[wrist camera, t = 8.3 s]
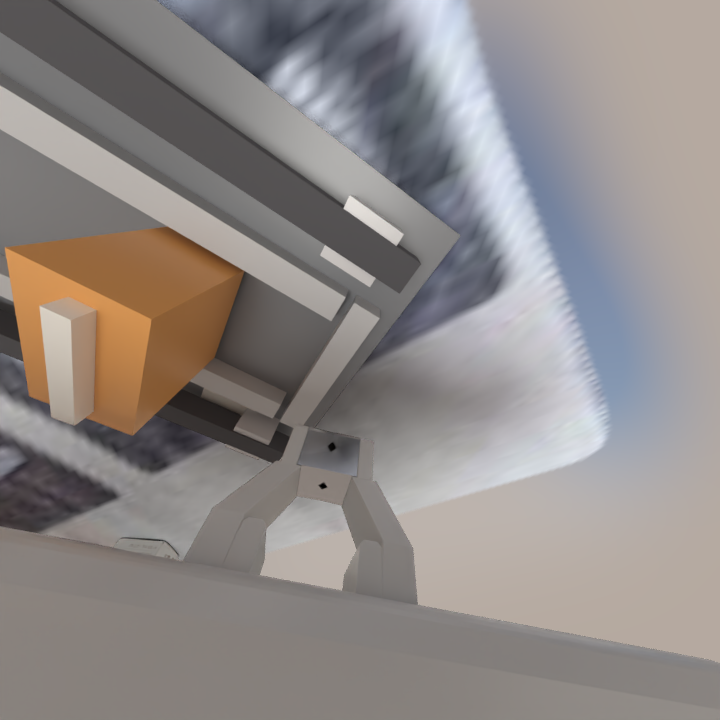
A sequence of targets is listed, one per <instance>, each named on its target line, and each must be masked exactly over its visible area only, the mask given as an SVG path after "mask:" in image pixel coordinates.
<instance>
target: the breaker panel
mask: <svg viewBox="0 0 720 720" xmlns="http://www.w3.org/2000/svg"><path fill="white" fill-rule="evenodd" d="M56 1H57V2H59V3H60V4H61V5H63V6H64V7H66V8H67V9H68V10H70V11H71V12H73V13H74V14H76V15H77V16H78V17H80V18H81V19H83V20H84V21H85V22H87V23H88V24H90V25H91V26H92V27H94V28H95V29H97V30H98V31H99V32H101V33H102V34H104V35H105V36H106V37H108V38H109V39H111V40H112V41H114V42H115V43H116V44H118V45H119V46H121V47H122V48H123V49H125V50H126V51H128V52H129V53H130V54H132V55H133V56H135V57H136V58H137V59H139V60H140V61H142V62H143V63H144V64H146V65H147V66H149V67H150V68H152V69H153V70H154V71H156V72H157V73H159V74H160V75H161V76H163V77H164V78H166V79H167V80H168V81H170V82H171V83H173V84H174V85H175V86H177V87H178V88H180V89H181V90H182V91H184V92H185V93H187V94H188V95H190V96H191V97H192V98H194V99H195V100H197V101H198V102H199V103H201V104H202V105H204V106H205V107H206V108H208V109H209V110H211V111H212V112H213V113H215V114H216V115H218V116H219V117H220V118H222V119H223V120H225V121H226V122H228V123H229V124H230V125H232V126H233V127H235V128H236V129H237V130H239V131H240V132H242V133H243V134H244V135H246V136H247V137H249V138H250V139H251V140H253V141H254V142H256V143H257V144H259V145H260V146H261V147H263V148H264V149H266V150H267V151H268V152H270V153H271V154H273V155H274V156H275V157H277V158H278V159H280V160H281V161H282V162H284V163H285V164H287V165H288V166H289V167H291V168H292V169H294V170H295V171H297V172H298V173H299V174H301V175H302V176H304V177H305V178H306V179H308V180H309V181H311V182H312V183H313V184H315V185H316V186H318V187H319V188H320V189H322V190H323V191H325V192H326V193H327V194H329V195H330V196H332V197H333V198H335V199H336V200H337V201H339V202H340V203H342V204H343V205H344V208H343V209H345V210H346V211H348V212H349V213H350V214H352V215H353V216H355V217H356V218H358V219H359V220H360V221H362V222H363V223H365V224H366V225H367V226H369V227H370V228H372V229H373V230H375V231H376V232H377V233H379V234H380V235H382V236H383V237H384V238H386V239H387V240H389V241H390V242H392V243H393V244H394V245H396V246H397V244H399V245H401V246H402V247H403V248H405V249H406V250H408V251H409V252H411V253H412V254H413V255H415V256H416V257H417V258H418V260H419V261H420V263H421V265H420V266H419V268H418V269H417V271H416V272H415V273H414V275H413V276H412V277H411V279H410V280H409V282H408V283H407V284H406V286H405V287H404V289H403V290H402V291H401V293H400V294H399V293H398V292H396V291H394V290H393V289H391V288H390V287H388V286H387V285H385V284H384V283H382V282H381V281H379V280H378V279H376V278H375V277H373V276H372V275H370V274H369V273H367V272H365V271H364V270H362V269H361V268H359V267H358V266H356V265H355V264H353V263H352V262H350V261H349V260H347V259H346V258H344V257H343V256H341V255H340V254H338V253H336V252H335V251H333V250H332V249H330V248H329V247H327V246H326V245H324V244H323V243H321V242H320V241H318V240H317V239H315V238H314V237H312V236H311V235H309V234H307V233H306V232H304V231H303V230H301V229H300V228H298V227H297V226H295V225H294V224H292V223H291V222H289V221H288V220H286V219H285V218H283V217H282V216H280V215H278V214H277V213H275V212H274V211H272V210H271V209H269V208H268V207H266V206H265V205H263V204H262V203H260V202H259V201H257V200H256V199H254V198H253V197H251V196H249V195H248V194H246V193H245V192H243V191H242V190H240V189H239V188H237V187H236V186H234V185H233V184H231V183H230V182H228V181H227V180H225V179H224V178H222V177H220V176H219V175H217V174H216V173H214V172H213V171H211V170H210V169H208V168H207V167H205V166H204V165H202V164H201V163H199V162H198V161H196V160H195V159H193V158H192V157H190V156H188V155H187V154H185V153H184V152H182V151H181V150H179V149H178V148H176V147H175V146H173V145H172V144H170V143H169V142H167V141H166V140H164V139H163V138H161V137H159V136H158V135H156V134H155V133H153V132H152V131H150V130H149V129H147V128H146V127H144V126H143V125H141V124H140V123H138V122H137V121H135V120H134V119H132V118H130V117H129V116H127V115H126V114H124V113H123V112H121V111H120V110H118V109H117V108H115V107H114V106H112V105H111V104H109V103H108V102H106V101H105V100H103V99H101V98H100V97H98V96H97V95H95V94H94V93H92V92H91V91H89V90H88V89H86V88H85V87H83V86H82V85H80V84H79V83H77V82H76V81H74V80H72V79H71V78H69V77H68V76H66V75H65V74H63V73H62V72H60V71H59V70H57V69H56V68H54V67H53V66H51V65H50V64H48V63H47V62H45V61H43V60H42V59H40V58H39V57H37V56H36V55H34V54H33V53H31V52H30V51H28V50H27V49H25V48H24V47H22V46H21V45H19V44H18V43H16V42H14V41H13V40H11V39H10V38H8V37H7V36H5V35H4V34H2V33H1V32H0V309H2V310H4V311H6V312H8V313H11V314H13V315H15V316H16V313H15V307H14V301H13V294H12V288H11V282H10V276H9V270H8V264H7V258H6V252H5V247H11V246H19V245H27V244H35V243H43V242H50V241H58V240H66V239H74V238H82V237H90V236H97V235H105V234H113V233H121V232H129V231H137V230H144V229H152V228H160V227H170V228H171V229H173V230H175V231H176V232H178V233H180V234H182V235H183V236H185V237H187V238H189V239H190V240H192V241H194V242H195V243H197V244H199V245H201V246H202V247H204V248H206V249H207V250H209V251H211V252H213V253H214V254H216V255H218V256H220V257H221V258H223V259H225V260H226V261H228V262H230V263H232V264H233V265H235V266H237V267H239V268H240V269H242V270H244V274H243V277H242V280H241V283H240V286H239V289H238V291H237V294H236V297H235V300H234V303H233V306H232V309H231V312H230V314H229V317H228V320H227V323H226V326H225V329H224V332H223V335H222V337H221V340H220V343H219V346H218V349H217V352H216V355H215V357H214V358H213V359H212V360H211V361H210V362H209V363H208V364H207V365H206V366H205V367H204V368H203V369H202V370H201V371H200V372H199V373H198V374H197V375H196V376H195V377H194V378H193V379H191V380H190V381H189V382H188V383H187V384H186V385H185V386H184V387H183V388H182V389H183V390H185V391H188V392H190V393H192V394H194V395H197V396H199V397H201V398H203V399H206V400H208V401H210V402H213V403H215V404H217V405H219V406H222V407H224V408H226V409H228V410H231V411H233V412H235V413H238V414H240V415H242V416H241V418H240V420H239V421H238V423H237V424H236V426H235V428H234V430H233V431H236V432H238V433H240V434H243V435H245V436H247V437H250V438H252V439H255V440H257V441H259V442H262V443H264V444H266V445H269V443H270V441H271V439H272V437H273V435H274V433H275V430H276V431H278V432H281V433H283V434H285V435H287V436H291V434H292V431H293V429H294V427H295V425H296V424H299V425H303V426H308V427H312V428H315V426H316V425H317V424H318V422H319V421H320V420H321V419H322V417H323V416H324V415H325V413H326V412H327V411H328V409H329V408H330V407H331V405H332V404H333V403H334V401H335V400H336V399H337V398H338V396H339V395H340V394H341V392H342V391H343V390H344V388H345V387H346V386H347V384H348V383H349V382H350V380H351V379H352V378H353V376H354V375H355V374H356V373H357V371H358V370H359V369H360V367H361V366H362V365H363V363H364V362H365V361H366V359H367V358H368V357H369V355H370V354H371V353H372V352H373V350H374V349H375V348H376V346H377V345H378V344H379V342H380V341H381V340H382V338H383V337H384V336H385V334H386V333H387V332H388V330H389V329H390V328H391V327H392V325H393V324H394V323H395V321H396V320H397V319H398V317H399V316H400V315H401V313H402V312H403V311H404V309H405V308H406V307H407V306H408V304H409V303H410V302H411V300H412V299H413V298H414V296H415V295H416V294H417V292H418V291H419V290H420V288H421V287H422V286H423V285H424V283H425V282H426V281H427V279H428V278H429V277H430V275H431V274H432V273H433V271H434V270H435V269H436V267H437V266H438V265H439V263H440V262H441V261H442V260H443V258H444V257H445V256H446V254H447V253H448V252H449V250H450V249H451V248H452V246H453V245H454V244H455V242H456V241H457V240H458V239H459V237H460V235H459V234H458V233H456V232H455V231H454V230H452V229H451V228H450V227H449V226H447V225H446V224H445V223H443V222H442V221H441V220H440V219H438V218H437V217H436V216H434V215H433V214H432V213H431V212H429V211H428V210H427V209H425V208H424V207H423V206H421V205H420V204H419V203H418V202H416V201H415V200H414V199H412V198H411V197H410V196H409V195H407V194H406V193H405V192H403V191H402V190H401V189H399V188H398V187H397V186H396V185H394V184H393V183H392V182H390V181H389V180H388V179H387V178H385V177H384V176H383V175H381V174H380V173H379V172H378V171H376V170H375V169H374V168H372V167H371V166H370V165H368V164H367V163H366V162H365V161H363V160H362V159H361V158H359V157H358V156H357V155H356V154H354V153H353V152H352V151H350V150H349V149H348V148H346V147H345V146H344V145H343V144H341V143H340V142H339V141H337V140H336V139H335V138H334V137H332V136H331V135H330V134H328V133H327V132H326V131H324V130H323V129H322V128H321V127H319V126H318V125H317V124H315V123H314V122H313V121H312V120H310V119H309V118H308V117H306V116H305V115H304V114H303V113H301V112H300V111H299V110H297V109H296V108H295V107H293V106H292V105H291V104H290V103H288V102H287V101H286V100H284V99H283V98H282V97H281V96H279V95H278V94H277V93H275V92H274V91H273V90H271V89H270V88H269V87H268V86H266V85H265V84H264V83H262V82H261V81H260V80H259V79H257V78H256V77H255V76H253V75H252V74H251V73H250V72H248V71H247V70H246V69H244V68H243V67H242V66H240V65H239V64H238V63H237V62H235V61H234V60H233V59H231V58H230V57H229V56H228V55H226V54H225V53H224V52H222V51H221V50H220V49H218V48H217V47H216V46H215V45H213V44H212V43H211V42H209V41H208V40H207V39H206V38H204V37H203V36H202V35H200V34H199V33H198V32H196V31H195V30H194V29H193V28H191V27H190V26H189V25H187V24H186V23H185V22H184V21H182V20H181V19H180V18H178V17H177V16H176V15H175V14H173V13H172V12H171V11H169V10H168V9H167V8H165V7H164V6H163V5H162V4H160V3H159V2H158V1H156V0H56ZM225 447H228V448H230V449H233V450H235V451H237V452H240V453H242V454H245V455H247V456H250V457H252V458H255V459H257V460H259V459H260V458H259V457H257V456H254V455H252V454H249V453H247V452H244V451H242V450H239V449H237V448H234V447H232V446H230V445H227V444H226V446H225Z"/></svg>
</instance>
